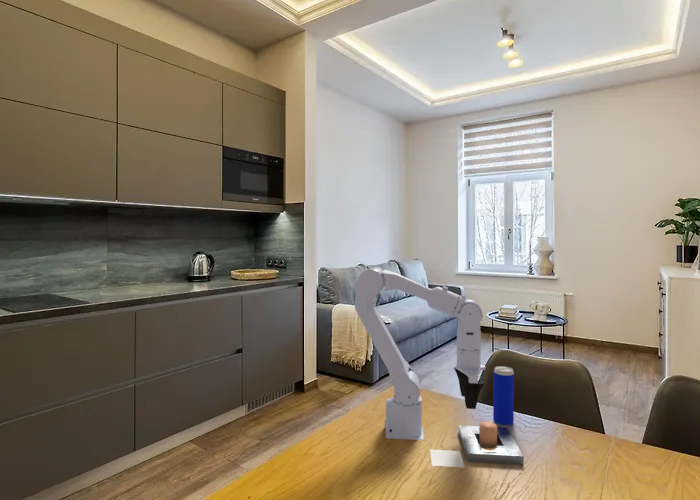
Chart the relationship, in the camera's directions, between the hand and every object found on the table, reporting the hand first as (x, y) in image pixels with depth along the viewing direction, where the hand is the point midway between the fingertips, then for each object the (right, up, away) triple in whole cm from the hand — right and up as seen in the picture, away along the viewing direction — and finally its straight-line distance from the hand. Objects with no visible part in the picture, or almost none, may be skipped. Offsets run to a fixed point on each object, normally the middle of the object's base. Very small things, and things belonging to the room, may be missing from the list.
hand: (468, 401), depth 105 cm
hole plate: (+3, -10, -5) cm, 11 cm away
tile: (-8, -10, -10) cm, 16 cm away
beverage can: (+12, -9, +9) cm, 18 cm away
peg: (+3, -10, -5) cm, 11 cm away
